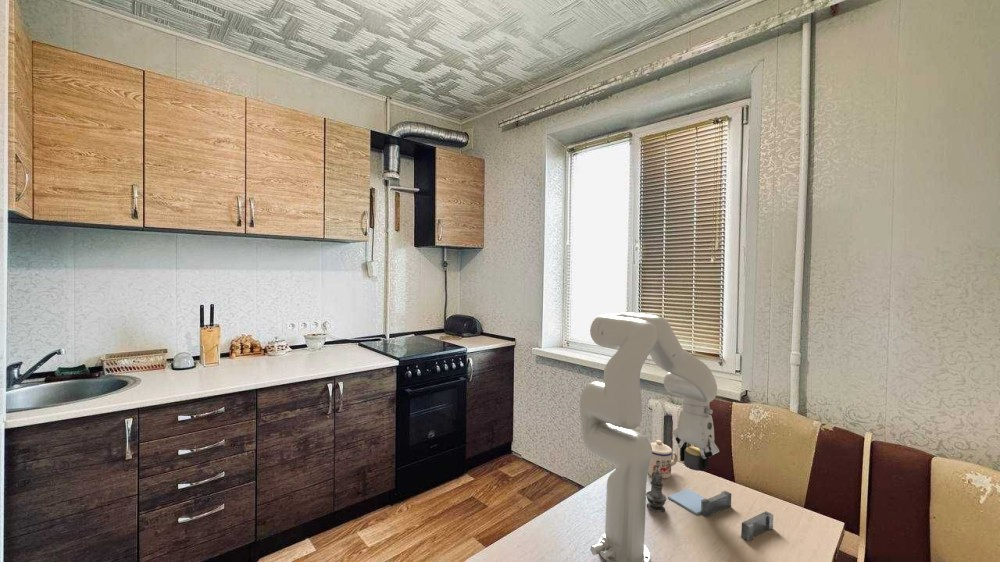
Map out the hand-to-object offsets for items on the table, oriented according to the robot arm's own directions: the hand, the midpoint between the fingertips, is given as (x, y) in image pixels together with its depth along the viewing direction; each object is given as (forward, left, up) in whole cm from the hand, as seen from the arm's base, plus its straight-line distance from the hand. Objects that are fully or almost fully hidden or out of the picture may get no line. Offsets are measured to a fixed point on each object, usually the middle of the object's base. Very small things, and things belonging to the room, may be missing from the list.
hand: (693, 464), depth 125 cm
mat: (0, 0, -12) cm, 12 cm away
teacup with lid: (+7, +17, -12) cm, 22 cm away
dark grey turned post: (-13, +3, -12) cm, 18 cm away
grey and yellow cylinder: (0, 0, -1) cm, 1 cm away
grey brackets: (+3, -12, -12) cm, 17 cm away
